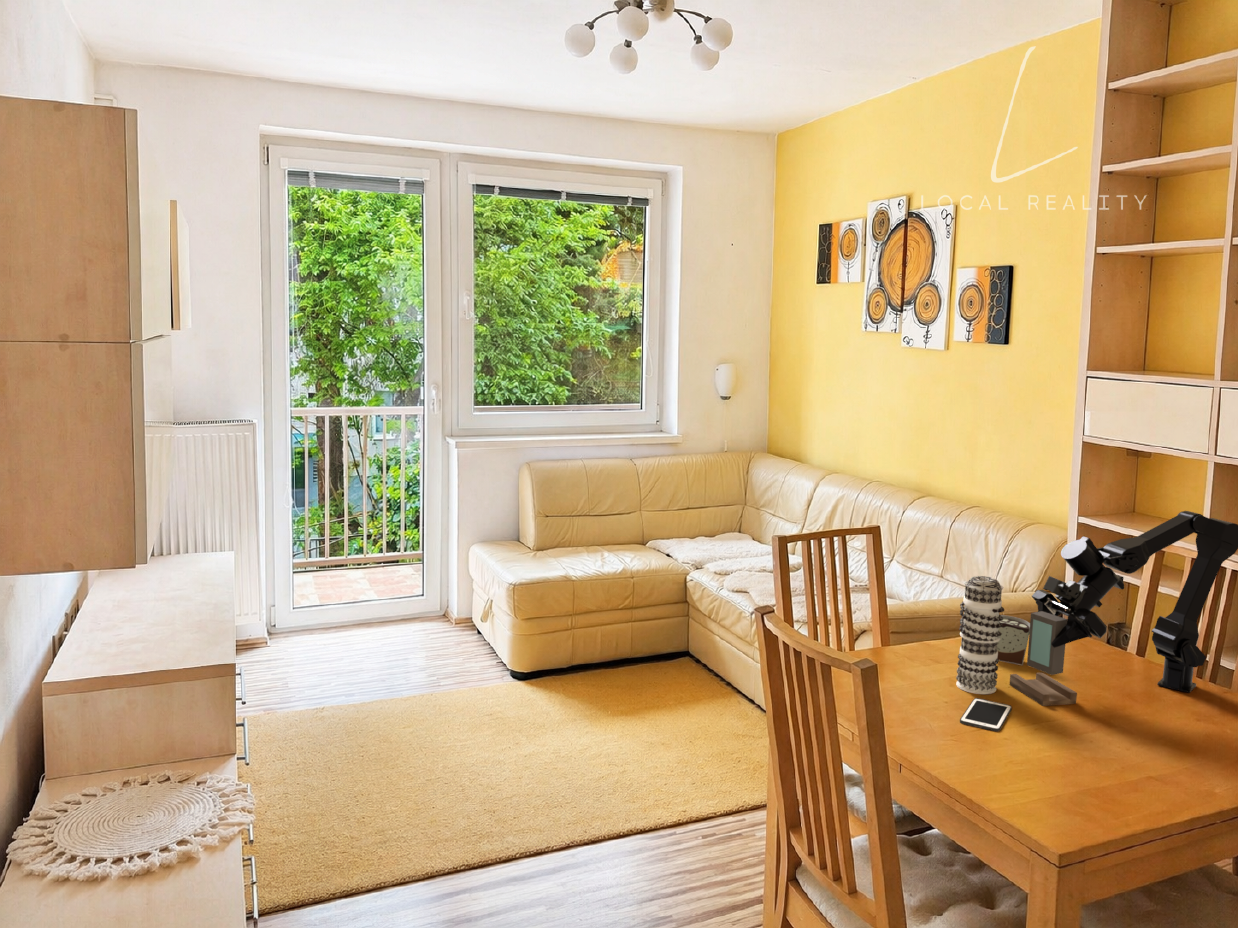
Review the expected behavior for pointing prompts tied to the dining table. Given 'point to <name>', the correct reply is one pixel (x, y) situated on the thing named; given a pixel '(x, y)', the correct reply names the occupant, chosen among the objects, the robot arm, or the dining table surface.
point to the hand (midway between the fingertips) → (1041, 640)
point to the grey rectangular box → (1045, 643)
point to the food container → (1013, 640)
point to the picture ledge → (1044, 690)
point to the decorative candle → (979, 635)
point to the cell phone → (986, 714)
